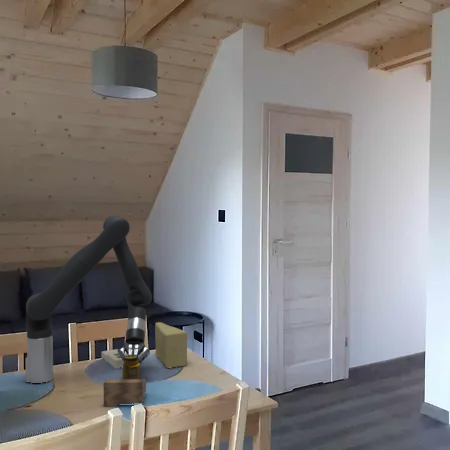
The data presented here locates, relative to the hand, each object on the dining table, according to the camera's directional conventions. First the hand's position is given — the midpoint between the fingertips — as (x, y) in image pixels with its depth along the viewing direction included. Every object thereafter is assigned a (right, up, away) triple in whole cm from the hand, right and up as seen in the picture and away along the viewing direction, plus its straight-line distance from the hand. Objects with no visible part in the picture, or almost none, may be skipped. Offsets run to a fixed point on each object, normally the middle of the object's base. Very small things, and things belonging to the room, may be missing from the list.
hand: (131, 372), depth 192 cm
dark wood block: (0, -5, -14) cm, 15 cm away
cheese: (+10, -4, +30) cm, 32 cm away
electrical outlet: (-12, -4, +28) cm, 31 cm away
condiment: (0, -5, -4) cm, 7 cm away
